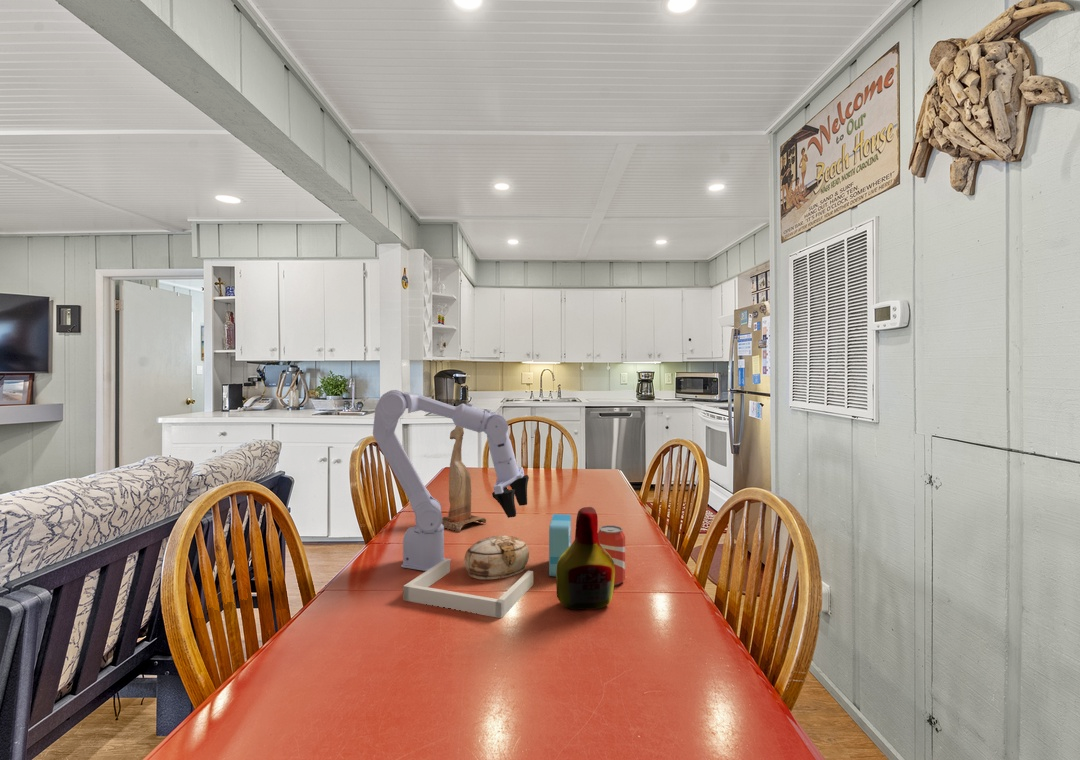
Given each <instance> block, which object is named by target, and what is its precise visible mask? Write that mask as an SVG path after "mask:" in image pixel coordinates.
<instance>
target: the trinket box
mask: <svg viewBox="0 0 1080 760" xmlns="http://www.w3.org/2000/svg"><path fill="white" fill-rule="evenodd" d="M529 558H530V551H529V547H528V545H527V544H526V542H525V541H524V540H522V539H521V538H519V537H517V536H513V535H494V536H489V537H485V538H483V539H480V540H478V541H477V542H475V543H474V544H472V545H471V546H470V547H469V548H468V549H467V550H466V551H465V554H464V565H465V570H466V571H467V574H468V575H469V577H471V578H474V579H477V580H498V578H499V579H503V578H504V577H505V578H508V577H513V576H516V575H518V574H520V573H521V572H523V571H524V570H525V569H526V565H527V564H528V562H529V560H530V559H529ZM515 574H516V575H515ZM512 575H513V576H512Z"/></svg>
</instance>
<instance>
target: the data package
mask: <svg viewBox="0 0 1080 760" xmlns="http://www.w3.org/2000/svg"><path fill="white" fill-rule="evenodd" d="M548 528H549V529H548V574H549V577H555V578H556V567H557V562H558V560H559V558H560V557H561V555H562V554H563V553H564V552H565V551H566V550H567V548H568V547H570V546H571V545H572V514H560V513H558V514H557V513H553V514H552V516H551V520H550V524H549V526H548Z"/></svg>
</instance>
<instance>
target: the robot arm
mask: <svg viewBox="0 0 1080 760" xmlns="http://www.w3.org/2000/svg"><path fill="white" fill-rule="evenodd" d="M406 409H407V413H408V414H410V413H414V412H415V413H416V412H419V411H422V412H426V413H430V414H433V415H437V416H441V417H444V418H448V419H451V420H452V421H453V423H454V425H455V427H456V426H459V427H462V428H463V429H467V430H470V431H473V432H476V433H482V432H484V434H485V435H486V438H487V443H488V450H489V452H490V457H491V461H492V463H493V468H494V472H495V474H496V475H495V476H496V478H497V479H496V482H495V484H494V485H493V486H492V488H493V492H492V493H491V494H492V497H493V499H495V501H496V502H497V503H498V504H499V506H501V509H503V511H504V513H505V515H506V517H507V518H508V519H509V518H516V517H517V509H516V503H515V499H516V502H517V503H518V505H519V506H520V507H521V506H527V505H528V483H529V479H530V477H529V475H528V474H525V471H524V468H523V466H521V467H520V466H519V467H518V463H517V460H516V456H515V453H514V449H513V444H512V440H511V439H510V436H509V432H508V429H509V423H508V422H507V420H506V419H505V417H504V416H502V415H500V414H499V413H496V412H494V411H493V412H491V409H487V408H486V410H485V409H482V408H479V407H475V406H473V403H470V402H467V403H461V404H459V405H457V406H454V405H452V404H449V403H445V402H442V401H439V400H437V399H434V398H431V397H428V396H425V395H422V394H419V393H413V392H412V393H411V392H408V391H404V392H403V391H400V390H397V389H393V390H389V391H387V392H385V393H383V394H382V395H381V396H380V398H379V400H378V402H377V403H376V406H375V407H374V418H373V425H372V426H373V427H372V437H373V438H374V440H375V442H376V443H377V446H378V447H379V449H380V451H381V452H382V454H383V456H384V458H385V460H386V462H387V463H388V465H389V467H390V469H391V470H392V472H393V474H394V476H395V477H396V479H397V480H398V483H399V485H400V486H401V489H402V490H403V492H404V493H405V496H406V497H407V499H408V500H409V501H408V502H409V504H410V507H411V509H412V512H413V513H414V516H415V518H414V520H415V525H414V526H410V527H408V528H407V530H406V531H405V533H404V536H403V539H402V558H403V559H402V564H401V565H400V566H401V568H403V569H404V568H405V569H411V570H416V571H423V572H426V571H427V570H429V569H430V568H432V567H433V566H435V565H436V564H438V563H440V562H441V561H443V560H444V559H447V558H446V557H445V531H444V530H445V528H444V525H442V517H443V514H442V506H441V503H440V501H439V500H438V499H436V498H434V497H433V496H432V495H431V493H430V491H429V490H428V489H427V487H426V486H425V484H424V482H423V481H422V478H421V477H420V475H419V473H418V472H417V470H416V468H415V467H414V465H413V463H412V460H411V459H410V458H409V456H408V454H407V452H406V451H405V448H404V447H403V445H402V443H401V442H400V440H399V438H398V436H397V434H396V428H397V425H398V423H399V420H400V418H401V417H402V416H403V414H404V413H405V411H406ZM508 487H510V489H509V488H508ZM449 559H450V562H452V559H451V558H449Z"/></svg>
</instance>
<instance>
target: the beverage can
mask: <svg viewBox="0 0 1080 760" xmlns="http://www.w3.org/2000/svg"><path fill="white" fill-rule="evenodd" d="M598 539H599V543H600V545H601V546H602V547H603V548H604V549H605V550H606V551H607V552H608V553H609V555H610V556H611V557H612V559H613V562H614V567H615V577H614V586H618V585H620V584H621V583H623V582H624V581H625V580H626V535H625V533H624V532H623V528H622V526H621V527H620V526H618V525H613V524H612V525H609V524H608V525H602V526H600V527H599V530H598Z"/></svg>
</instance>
